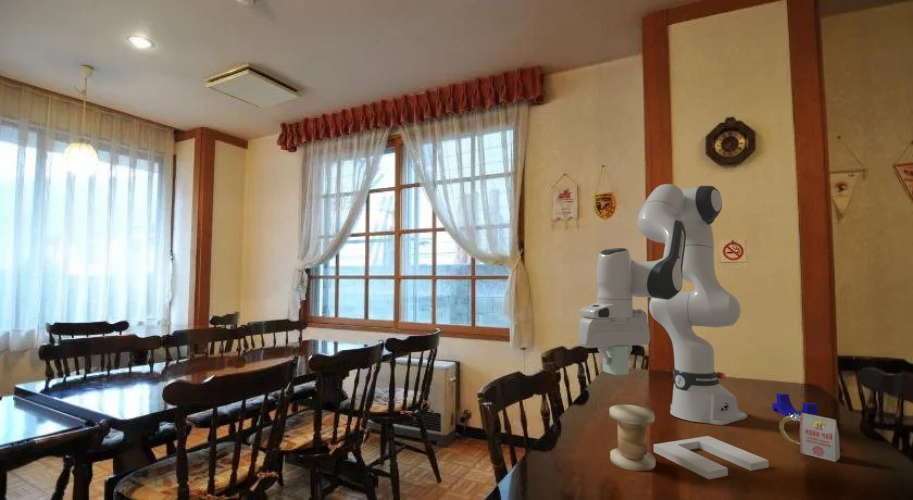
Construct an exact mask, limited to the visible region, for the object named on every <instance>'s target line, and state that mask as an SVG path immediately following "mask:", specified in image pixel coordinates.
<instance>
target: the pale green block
mask: <svg viewBox="0 0 913 500" xmlns="http://www.w3.org/2000/svg"><path fill="white" fill-rule="evenodd" d="M606 353H607V355H608V357H611V364H607V365H605V364H603V363H602V371H603V372H604V373H608V374H612V375H613V376H621V375H622V376H623V375H629V374H630V373H629V371H630V369H629V367H630V366H629V364H630V363H629V356H628V346H613V347H608V351H606Z"/></svg>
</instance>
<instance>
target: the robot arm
mask: <svg viewBox="0 0 913 500" xmlns="http://www.w3.org/2000/svg"><path fill="white" fill-rule="evenodd" d="M722 207H723V200H722V196H721V193H720V191H719V190H718V189H717V188H716V187H715V186H713V185H700V186H694V187H687V188H686V187H685V188H680V187H679V186H677V185H675V184H671V183H665V184H660V185H659V186H657V187H655V188H654V189H653V191H651V193H650V194H649V195H648V197H647V198H646V200H645V202H644V203H643V205H642V207H641V208H640V209H641V210H640V211H639V214H638V216H637V222H636V223H637V227H638V229H639V232H640V233H641V234H642V235H643V236H644V237H645V238H647V240H650V241H652V242H655V243H660V244H664V250H663V254H662V255H663V257H662V258H659V259H657V260H652V261H650V260H648V261H635V260H634V259H632V258H631V256H630V250H629V249H628V248H624V247H616V248H615V247H614V248H608V249H603V250H602V251H600V252H599V253H598V257H597V262H596V285H597V294H596V302H594V303H591V304H589V305H586V306H584V307H582V308H580V309H579V314H580V316H581V318H580V319H579V323H578V343H579V345H580V346H581V347H583V348H587V349H591V348H592V349H594V348H597V351H598V352H599V354H600V356H601V359H602V360H601V362H602V365H603V364H605V365H607V364H611V357H608V355H607V353H606V351H608V347H613V346H628V357H630V356H631V353H632V351H633V346H642V345H643V346H644V345H646V346H647V345H648V344H649V343H650V341H651V332H650V326H649V321H648V314H647V313H646V312H645V311H643V309H641V308H640V309H639V308H638V309H633V308H634V307H633V305H634V303H633V297H636V298H650V301H649V303H648V309H649V313H650V315H651V317H652V318H653V319H654V321H656V322H657V323H659V324H660V325H661V326H662V327H663V328H664V330H665V331H666V333H667V334H668V337H669V338H670V339H671V343H672V349H673V359H674V368H673V369H672V375H673V376H672V378H673V382H674V383H673V389H672V399H671V400H672V401H671V403H670V411H669V413H670V414H671V415H672V416H673V417H676V418H678V419H682V420H685V421H689V422H696V423H700V424H701V423H702V424H711V425H716V426H725V425H728V424H730V423H734V422H739V421H741V420H745V419H747V418H748V414H746V413H745V412H744V411H742V410H739V408H738V407H739V406H738V401H737V398H736V396H735V395H734V394H733V393H732V392H730V391H729V390H728V389H726V388H725V386H723V385H722V384H721V383H720V380H725V378H726V374H725V372H721V371H717V372H716V371H715V354H714V353H715V352H714V348H713V346H712V344H711V343H710V342H709V341H708V340H706V339H705V338H702V337H701V336H698V335H697V334H696V333H695V332H694V329H693V327H694V326H695V327H706V328H707V327H708V328H722V327H723V328H724V327H725V328H726V327H730V326H731V327H732V326H734V325H735V324H736V323H737V321H738V320H739V319H740V316H741V312H742V310H741V305H740V303H739V300H738V299H737V298H736V297H735V296H734V295H733V294H732V293H730V292H728V291H727V290H726V289H725V288H724V287H723V285H721V283H720V282H719V280H718V277H717V275H716V271H715V241H714V233H713V227H712V224H713V223H714V222H715V219H716V218H718V216H719V214H720V212H721V211H722V209H723V208H722ZM683 280H685V281H688V282H690V283H691V284H693V288H694V289H693V290H682V288H683Z"/></svg>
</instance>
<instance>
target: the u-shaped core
mask: <svg viewBox="0 0 913 500" xmlns="http://www.w3.org/2000/svg"><path fill="white" fill-rule="evenodd" d="M696 449H699V450H701V451H702V450H703V451H704V452H707V453H709V454H712V455H714V456H716V457H718V458H720V459H723V460H724V461H728V462H730V463H732V464H734V465H736V466H738V467H741V468H743V469H746V470H749V471H750V472H753V471H757V470H762V469H767V468H769V466H770V465H769V459H766V458H764V457H762V456H758V455H757V454H753V453H751V452H749V451H746V450H744V449H742V448H739V447H737V446H734V445H731V444H729V443H726V442H724V441H721V440H719V439H717V438H714V437H712V436H709V435H706V436H699V437H698V436H697V437H693V438H687V439H680V440H675V441H674V440H673V441H667V442H666V441H665V442H660V443H655V444H653V453H654V454H657V455H659V456H661V457H663V458H665V459H667V460H669V461H672V462H674V463H675V464H677V465H679V466H681V467H683V468H685V469H687V470H689V471H691V472H693V473H695V474H697V475H699V476H702V477H703V478H705V479H707V480H713V479H717V478H722V477H727V476H728V475H729V473H728V472H729V471H728V470H729V469H728V467H727V466H724V465H722V464H721V463H717V462H716V461H714V460H711V459H709V458H707V457H704V456H702V455H700V454H698V453H696V452H695V451H694V452H693V451H691V450H696Z"/></svg>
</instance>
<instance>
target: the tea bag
mask: <svg viewBox="0 0 913 500" xmlns="http://www.w3.org/2000/svg"><path fill="white" fill-rule="evenodd" d="M799 422H800V423H799V442H800V444H799V453H800V454H803V455H807V456H812V457H815V458H819V459H822V460H823V459H824V460H827V461H831V462H834V463H836V462H838V460H840V458H841V455H840V452H841V451H840V433H839V429H838V424H837V419H835V418H834V419H833V418H829V417H825V416H820V415H818V416H815V415H810V414H805V413H801V421H799Z"/></svg>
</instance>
